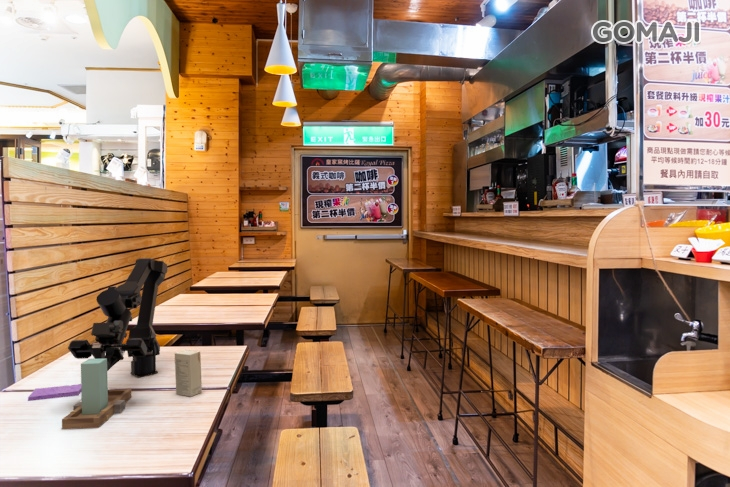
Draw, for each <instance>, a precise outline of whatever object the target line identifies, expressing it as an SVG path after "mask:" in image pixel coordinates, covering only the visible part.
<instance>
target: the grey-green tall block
mask: <svg viewBox="0 0 730 487" xmlns="http://www.w3.org/2000/svg"><path fill="white" fill-rule="evenodd" d="M80 382H81V383H80V384H81V392H80V394H81V402H82V415H89V414H99V413H100V412H101V410H103V409H105V408H106V407H107V406H108V390H109V388H108V387H109V386H108V384H109V383H108V371H107V358H103V359H95V358H87V360H84V361H83V362H82V363H80Z"/></svg>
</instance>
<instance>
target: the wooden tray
mask: <svg viewBox="0 0 730 487" xmlns="http://www.w3.org/2000/svg"><path fill="white" fill-rule="evenodd" d="M132 397H133V396H132V389H131V388H129V389H127V388H123V389H122V388H121V389H108V406H107V407H106V408H105V409H103V410H101V412H100V413H99V414H89V415H82V401H78V402H76V403H75V404H74V405H73V406H72V407H73V410H71V411H70V412H69V413H68V414H67V415H65V416H64V417H63V418H61V430H73V429H75V430H76V429H98V428H100V427H101V426H103V425H104V424H105V422H108V421H109V419H110V418H111V417H113V415H115V414H122V413H123V412H124V411H125V410H126V403H127V402H128V401H129V400H131V398H132Z"/></svg>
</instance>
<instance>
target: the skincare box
mask: <svg viewBox="0 0 730 487" xmlns="http://www.w3.org/2000/svg"><path fill="white" fill-rule="evenodd" d="M201 356H202V355H201V351H198V350H190V349H184V350H183V349H182V350H180V351H177V352H175V353H174V372H175V394H176V395H181V396H186V397H193V396H196V395H198V394H200V393H202V392H203V390H202V387H203V384H202V364H201V363H202V361H201V360H202V358H201Z"/></svg>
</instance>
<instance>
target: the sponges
mask: <svg viewBox="0 0 730 487" xmlns="http://www.w3.org/2000/svg"><path fill="white" fill-rule="evenodd" d="M80 394H81V383H77V384H71V385H59V386H49V387H40V388H39V387H38V388H35V389H34V390H33V391H32V392H31V393H30V395H28V396H27V401H28V402H31V401H40V400H49V399H58V398H68V397H69V398H70V397H77V396H80Z"/></svg>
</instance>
